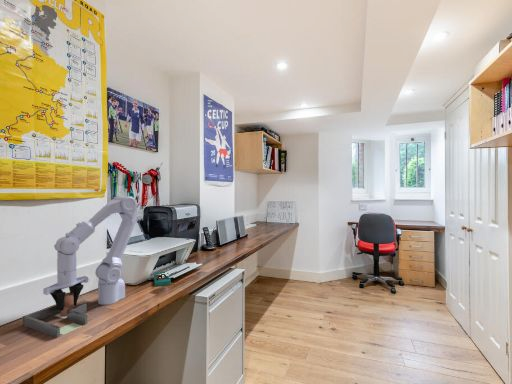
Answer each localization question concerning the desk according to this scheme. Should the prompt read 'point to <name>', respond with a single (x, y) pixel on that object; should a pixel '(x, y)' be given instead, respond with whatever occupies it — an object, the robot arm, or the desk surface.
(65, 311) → the peg
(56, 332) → the rails
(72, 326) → the board
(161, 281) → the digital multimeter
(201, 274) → the desk surface
